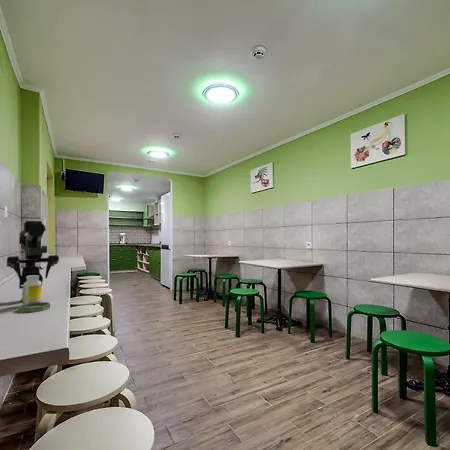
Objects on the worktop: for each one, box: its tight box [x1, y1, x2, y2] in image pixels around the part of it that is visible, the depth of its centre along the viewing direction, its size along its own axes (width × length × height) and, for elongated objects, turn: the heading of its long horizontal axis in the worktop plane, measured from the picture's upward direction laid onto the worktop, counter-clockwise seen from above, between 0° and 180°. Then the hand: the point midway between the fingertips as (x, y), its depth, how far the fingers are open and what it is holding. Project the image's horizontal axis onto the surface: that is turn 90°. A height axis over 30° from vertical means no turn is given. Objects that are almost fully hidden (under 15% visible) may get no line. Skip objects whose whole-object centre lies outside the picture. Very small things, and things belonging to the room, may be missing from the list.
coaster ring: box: [17, 301, 51, 314], centre depth 112 cm, size 11×11×2 cm
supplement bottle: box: [22, 275, 42, 305], centre depth 121 cm, size 7×7×13 cm
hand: (33, 279), depth 118 cm, fingers open, 9 cm apart
